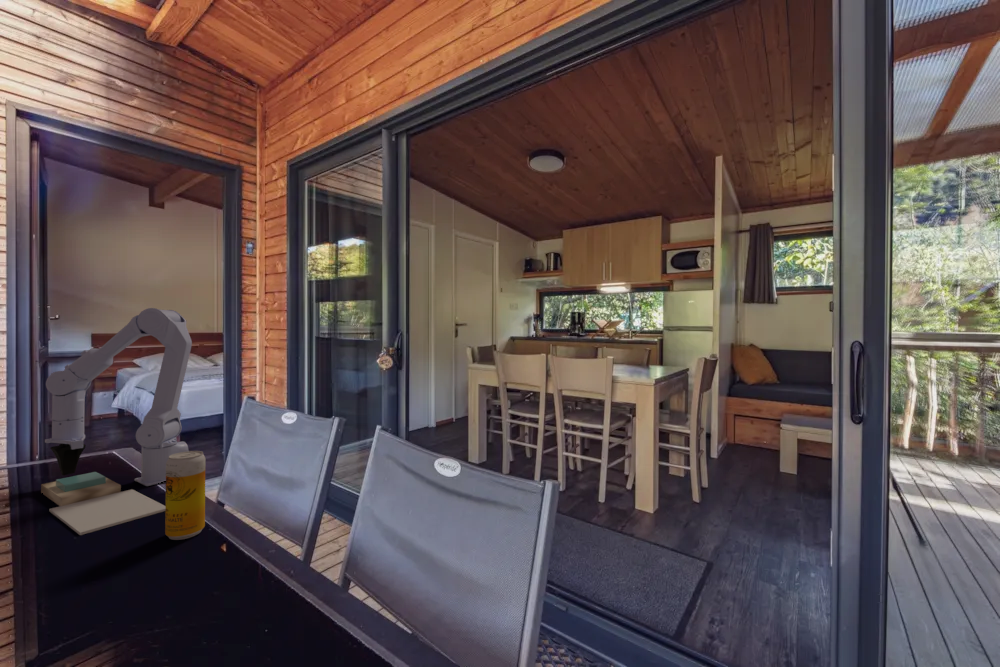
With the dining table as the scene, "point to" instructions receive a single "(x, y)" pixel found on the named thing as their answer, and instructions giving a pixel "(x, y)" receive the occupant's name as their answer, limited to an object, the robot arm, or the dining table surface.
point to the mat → (106, 511)
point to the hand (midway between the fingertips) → (68, 473)
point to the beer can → (185, 495)
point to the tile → (80, 481)
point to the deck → (79, 492)
